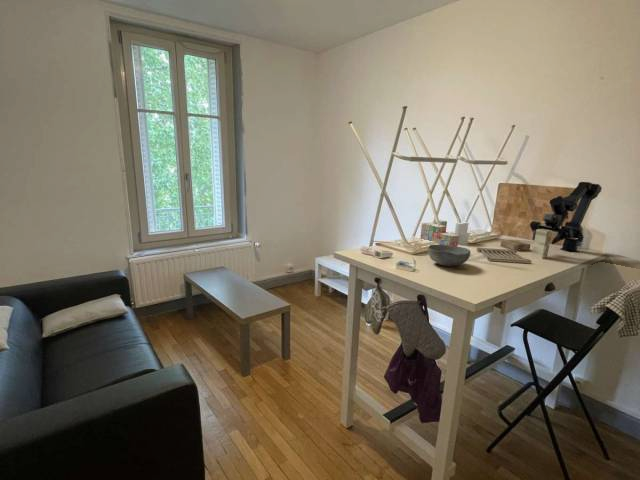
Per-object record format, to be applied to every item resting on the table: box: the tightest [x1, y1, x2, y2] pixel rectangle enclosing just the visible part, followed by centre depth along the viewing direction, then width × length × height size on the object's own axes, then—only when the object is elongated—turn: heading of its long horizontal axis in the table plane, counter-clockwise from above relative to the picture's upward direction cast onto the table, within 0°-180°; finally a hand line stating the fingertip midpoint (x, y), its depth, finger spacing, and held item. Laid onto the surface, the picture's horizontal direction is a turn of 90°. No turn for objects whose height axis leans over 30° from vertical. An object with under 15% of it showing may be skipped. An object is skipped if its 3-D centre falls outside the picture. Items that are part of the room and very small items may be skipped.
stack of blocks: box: [419, 222, 459, 247], centre depth 181 cm, size 21×6×12 cm, turn 26°
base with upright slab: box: [451, 221, 470, 246], centre depth 195 cm, size 9×9×12 cm
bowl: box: [427, 245, 471, 267], centre depth 152 cm, size 18×18×8 cm
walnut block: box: [500, 239, 531, 252], centre depth 188 cm, size 10×10×4 cm
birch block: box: [531, 229, 553, 260], centre depth 170 cm, size 5×5×14 cm
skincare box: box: [433, 219, 448, 228], centre depth 199 cm, size 6×4×12 cm
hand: (542, 241), depth 170 cm, fingers open, 9 cm apart
